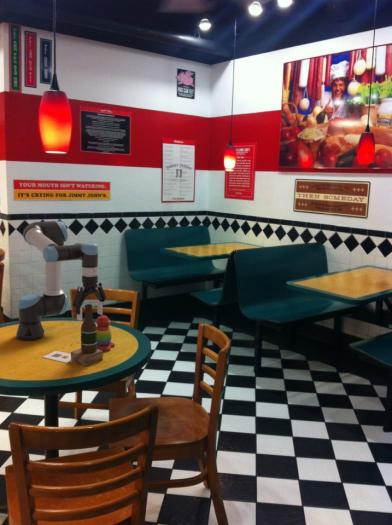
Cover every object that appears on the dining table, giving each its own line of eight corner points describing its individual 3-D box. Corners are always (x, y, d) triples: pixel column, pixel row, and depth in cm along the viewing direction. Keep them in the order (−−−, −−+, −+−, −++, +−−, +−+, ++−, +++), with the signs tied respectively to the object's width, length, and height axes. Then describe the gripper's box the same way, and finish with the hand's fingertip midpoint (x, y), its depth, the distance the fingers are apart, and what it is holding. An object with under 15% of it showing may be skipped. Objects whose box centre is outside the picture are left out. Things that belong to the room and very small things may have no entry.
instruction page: (42, 357, 256) (42, 356, 256) (55, 351, 265) (55, 350, 265) (66, 363, 250) (66, 362, 250) (79, 356, 259) (79, 355, 259)
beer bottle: (82, 348, 257) (81, 302, 252) (97, 348, 257) (97, 302, 253) (79, 354, 249) (79, 306, 245) (95, 354, 250) (95, 307, 245)
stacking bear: (108, 352, 266) (108, 319, 263) (90, 350, 268) (90, 317, 265) (115, 345, 277) (115, 313, 273) (98, 343, 279) (98, 312, 275)
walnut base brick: (71, 361, 253) (70, 351, 252) (87, 355, 262) (87, 345, 261) (86, 366, 247) (86, 357, 246) (102, 360, 256) (102, 350, 255)
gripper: (75, 280, 234) (76, 324, 238) (113, 272, 254) (113, 312, 258) (64, 278, 238) (65, 321, 242) (102, 269, 258) (102, 309, 262)
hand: (89, 317), depth 250 cm, fingers open, 13 cm apart
